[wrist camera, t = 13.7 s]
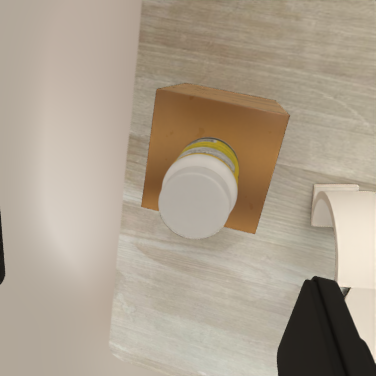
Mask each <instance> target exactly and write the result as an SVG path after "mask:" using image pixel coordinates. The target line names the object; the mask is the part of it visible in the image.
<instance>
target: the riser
mask: <svg viewBox="0 0 376 376" xmlns="http://www.w3.org/2000/svg"><path fill="white" fill-rule="evenodd" d="M289 117H290V115H289V114H288V113H287V112H286V111H285V110H284V109H283V108H282V107H281V106H280V105H279V104H278V103H277V102H276V101H275V100H270V99H265V98H260V97H255V96H250V95H245V94H240V93H234V92H229V91H224V90H219V89H214V88H209V87H204V86H199V85H193V84H188V83H184V84H179V85H174V86H169V87H164V88H159V89H157V90H156V97H155V105H154V113H153V120H152V128H151V136H150V143H149V151H148V159H147V167H146V174H145V182H144V190H143V197H142V205H141V207H144V208H148V209H153V210H157V211H159V208H158V201H159V195H160V192H161V190H162V183H163V179H164V177H165V175H166V173H167V171H168V169H169V168H170V167H171V165H172V164H173V163H174V161H175V160H176V159H177V158H178V157H179V155H180V154H181V153H182V151H183V150H184V149H185V147H186V146H187V145H188V144H190V143H191V142H192V141H194V140H196V139H199V138H203V137H214V138H218V139H221V140H223V141H225V142H226V143H227V144H229V145H230V146H231V147H232V148H233V150H234V151H235V153H236V155H237V158H238V162H239V178H238V194H237V200H236V203H235V206H234V208H233V209H232V211H231V212H230V214H229V216H228V219H227V221H226V223H225V225H224V226H223V227H227V228H232V229H236V230H240V231H244V232H248V233H252V234H255V232H256V229H257V226H258V222H259V219H260V215H261V212H262V209H263V205H264V202H265V198H266V195H267V192H268V188H269V185H270V181H271V178H272V174H273V171H274V168H275V164H276V161H277V157H278V154H279V151H280V147H281V144H282V140H283V137H284V134H285V130H286V127H287V123H288V120H289Z"/></svg>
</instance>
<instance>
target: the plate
mask: <svg viewBox="0 0 376 376" xmlns="http://www.w3.org/2000/svg"><path fill="white" fill-rule="evenodd" d="M344 299H345V302H346V304H347V307H348V309H349V312H350V314H351V316H352V319H353V321H354V324H355V326H356V328H357V331H358V333H359V336H360V338H362V339H363V340H364V341H365V342H366V344H367V345H368V347H369V349H370V352H371V354H372V356H373V359H374V361H375V363H376V289H368V288H351V287H350V289H349V291H348V293H347V294H346V296H345V298H344Z"/></svg>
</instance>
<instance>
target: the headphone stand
mask: <svg viewBox="0 0 376 376" xmlns="http://www.w3.org/2000/svg"><path fill="white" fill-rule="evenodd" d="M311 225H312V226H317V227H333V231H334V240H335V279H334V281H336V282H337V283H338V285H339V287H351V288H368V289H376V193H375V192H372V191H359V186H358V185H357V184H314V187H313V200H312V213H311Z"/></svg>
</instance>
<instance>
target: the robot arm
mask: <svg viewBox="0 0 376 376" xmlns="http://www.w3.org/2000/svg"><path fill="white" fill-rule="evenodd" d="M4 277H5V265H4V252H3V239H2V227H1V214H0V284H1V283H2V282H3V280H4ZM277 367H278V376H376V363H375V361H374V359H373V356H372V354H371V352H370V349H369V347H368V345H367V344H366V342H365V341H364V340H363V339H362V338H360V336H359V333H358V331H357V328H356V326H355V324H354V321H353V319H352V316H351V314H350V312H349V309H348V307H347V304H346V302H345V299H344V297H343V295H342V292H341V290H340V287H339V285H338V283H337V282H336V281H334V280H329V279H325V278H321V277H317V276H314V277H313V278H312V279H311V280H305V281H304V283H303V286H302V288H301V291H300V293H299V296H298V299H297V301H296V304H295V306H294V309H293V311H292V314H291V316H290V319H289V322H288V324H287V327H286V329H285V332H284V334H283V337H282V340H281V342H280V345H279V348H278V352H277Z"/></svg>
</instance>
